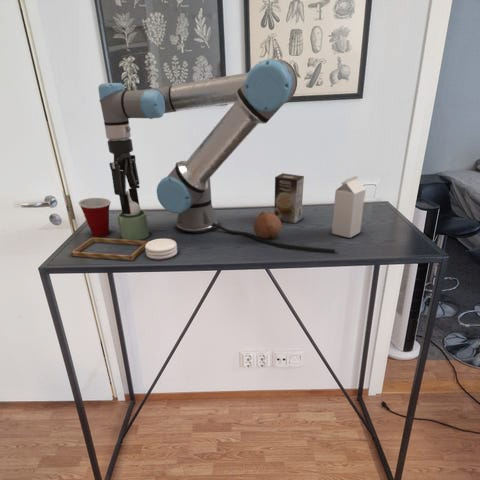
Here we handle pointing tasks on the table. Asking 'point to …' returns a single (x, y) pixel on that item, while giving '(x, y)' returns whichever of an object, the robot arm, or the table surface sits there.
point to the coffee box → (288, 197)
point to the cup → (133, 226)
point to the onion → (267, 226)
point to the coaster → (161, 249)
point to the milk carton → (348, 208)
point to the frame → (109, 256)
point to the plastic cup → (96, 215)
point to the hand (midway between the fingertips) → (131, 210)
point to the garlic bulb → (132, 206)
